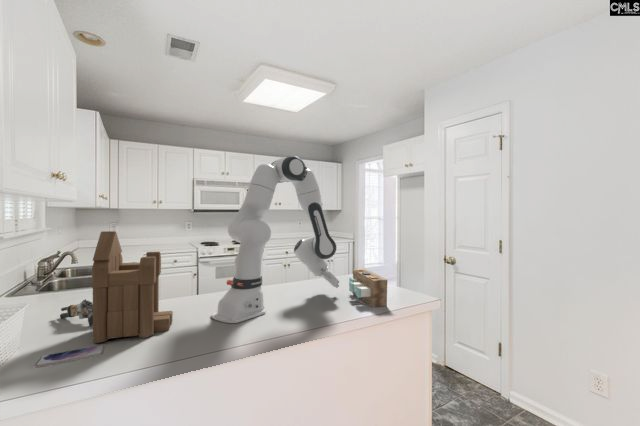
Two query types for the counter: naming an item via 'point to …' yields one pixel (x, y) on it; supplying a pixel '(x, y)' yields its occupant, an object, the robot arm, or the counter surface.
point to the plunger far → (353, 280)
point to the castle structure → (125, 293)
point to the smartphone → (69, 356)
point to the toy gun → (80, 311)
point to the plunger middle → (353, 286)
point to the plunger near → (363, 291)
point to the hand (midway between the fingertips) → (337, 286)
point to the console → (373, 287)
